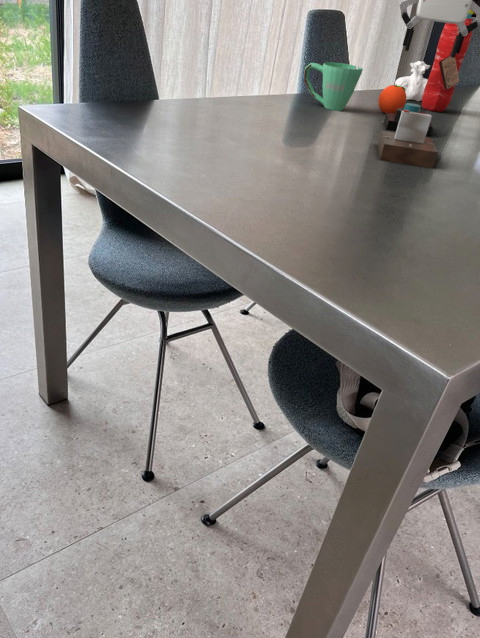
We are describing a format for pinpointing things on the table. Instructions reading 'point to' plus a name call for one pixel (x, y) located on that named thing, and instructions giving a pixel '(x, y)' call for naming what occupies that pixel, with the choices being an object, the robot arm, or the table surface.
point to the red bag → (445, 68)
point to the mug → (334, 83)
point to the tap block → (406, 151)
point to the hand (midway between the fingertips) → (429, 53)
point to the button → (412, 107)
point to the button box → (393, 120)
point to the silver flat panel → (412, 126)
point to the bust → (414, 81)
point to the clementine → (392, 99)
